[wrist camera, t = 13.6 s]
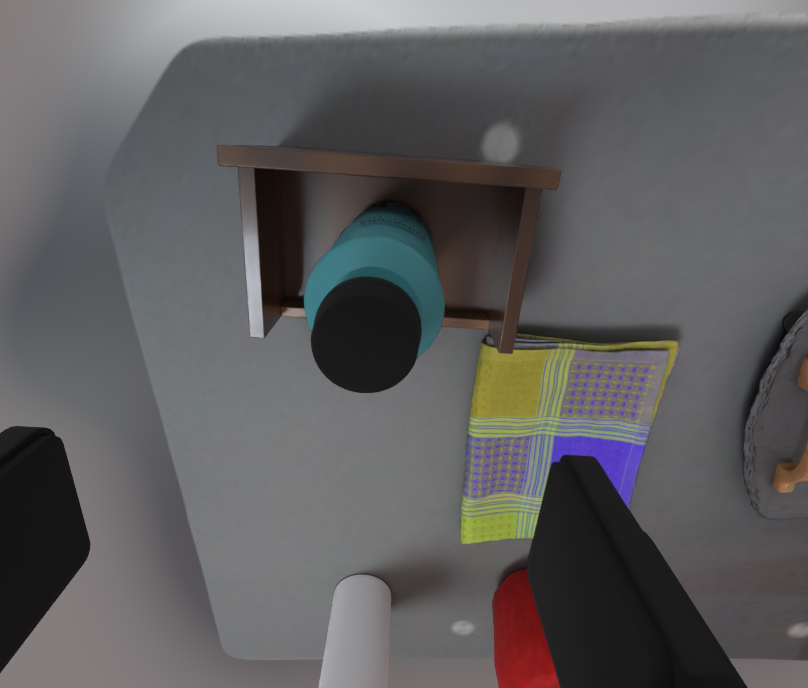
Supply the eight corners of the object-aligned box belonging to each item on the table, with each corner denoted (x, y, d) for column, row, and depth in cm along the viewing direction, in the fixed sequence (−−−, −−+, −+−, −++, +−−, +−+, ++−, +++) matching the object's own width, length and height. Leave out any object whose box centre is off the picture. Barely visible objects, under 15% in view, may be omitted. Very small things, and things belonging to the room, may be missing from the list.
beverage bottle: (434, 281, 35) (463, 424, 17) (349, 286, 36) (287, 433, 17) (431, 193, 33) (461, 251, 14) (340, 199, 33) (254, 263, 15)
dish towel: (450, 528, 49) (452, 549, 47) (481, 319, 40) (486, 330, 37) (608, 538, 50) (619, 559, 47) (678, 333, 40) (696, 345, 38)
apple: (494, 622, 55) (519, 760, 43) (471, 565, 52) (491, 698, 39) (580, 603, 54) (632, 740, 41) (563, 542, 50) (615, 673, 38)
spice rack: (283, 297, 39) (234, 356, 28) (277, 146, 34) (215, 144, 23) (490, 311, 39) (522, 374, 28) (513, 163, 35) (562, 170, 24)
